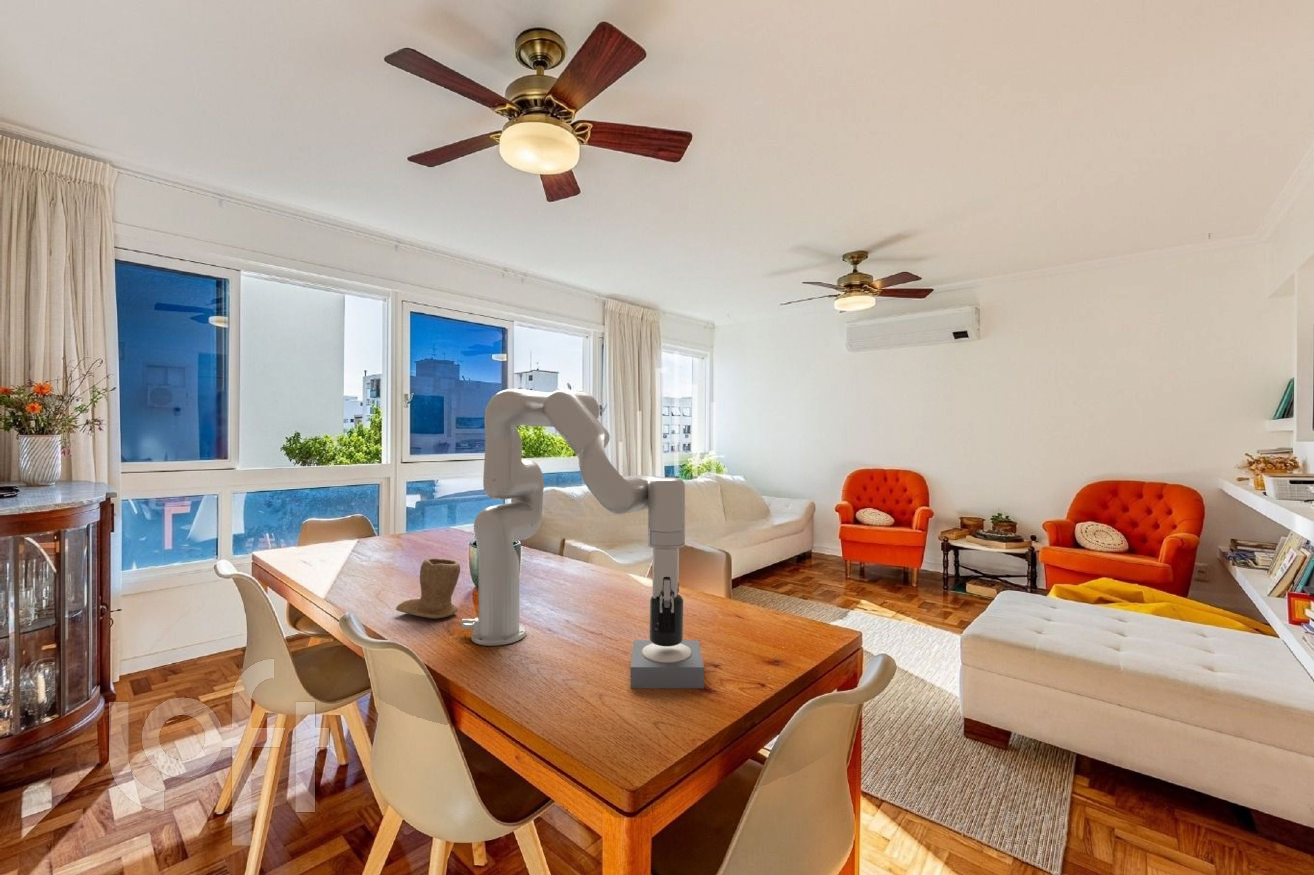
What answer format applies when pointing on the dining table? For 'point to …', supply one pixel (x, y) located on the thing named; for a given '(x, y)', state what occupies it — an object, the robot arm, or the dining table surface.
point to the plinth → (667, 665)
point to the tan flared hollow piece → (434, 590)
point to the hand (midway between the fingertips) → (666, 625)
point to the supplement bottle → (655, 636)
